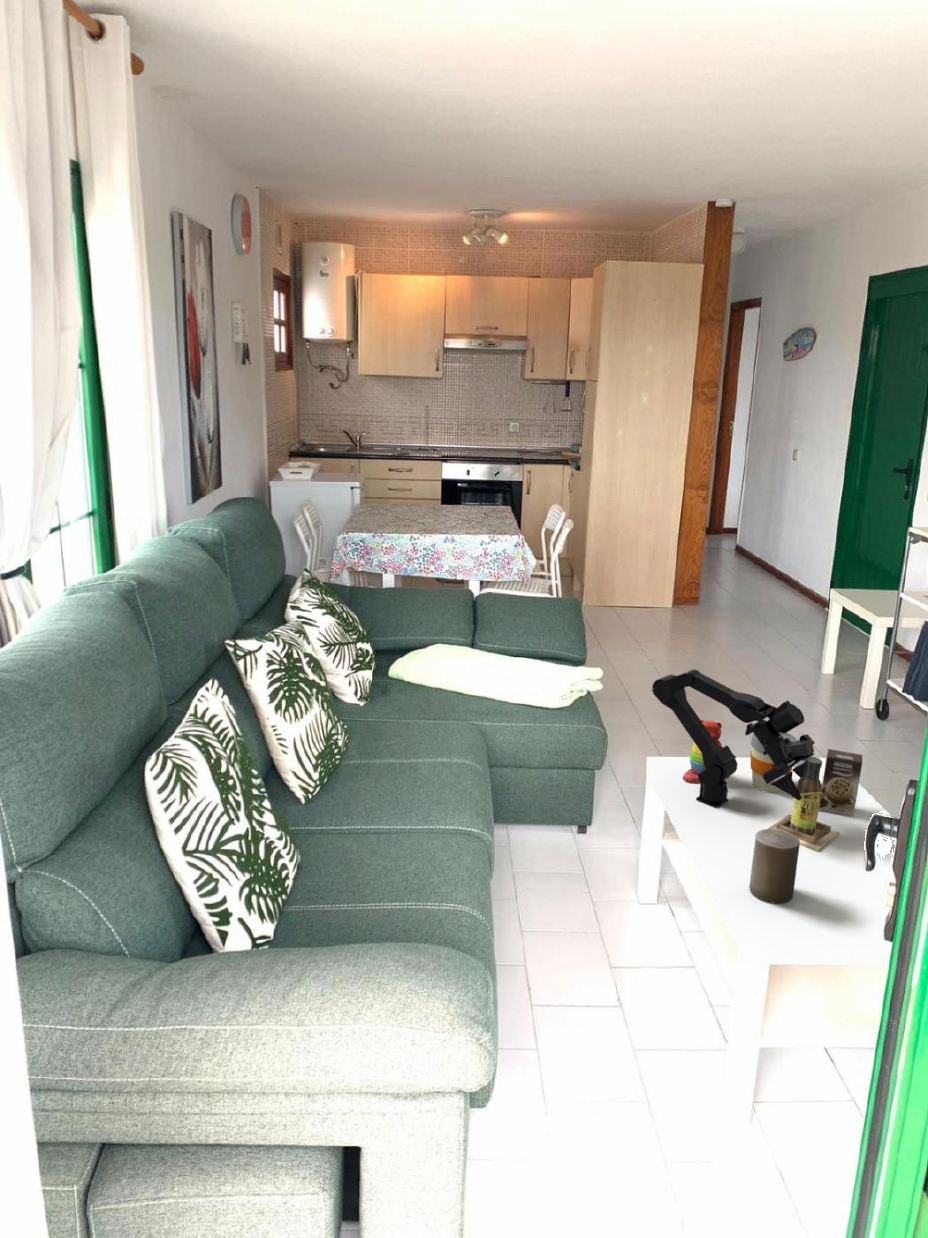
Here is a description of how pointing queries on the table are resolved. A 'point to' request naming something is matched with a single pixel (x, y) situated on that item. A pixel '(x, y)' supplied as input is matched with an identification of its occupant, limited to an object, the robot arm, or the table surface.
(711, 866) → the table surface
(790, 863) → the pillar candle
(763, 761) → the reusable coffee cup
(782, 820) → the cradle
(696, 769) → the stacking bear
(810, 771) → the sauce bottle
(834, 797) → the cookie box
